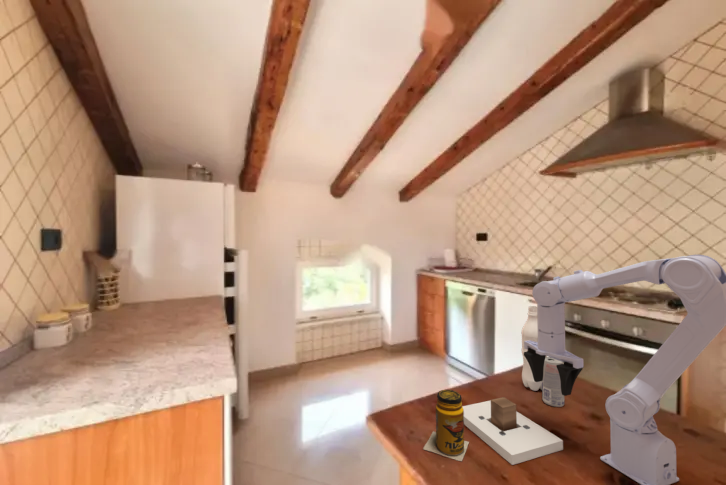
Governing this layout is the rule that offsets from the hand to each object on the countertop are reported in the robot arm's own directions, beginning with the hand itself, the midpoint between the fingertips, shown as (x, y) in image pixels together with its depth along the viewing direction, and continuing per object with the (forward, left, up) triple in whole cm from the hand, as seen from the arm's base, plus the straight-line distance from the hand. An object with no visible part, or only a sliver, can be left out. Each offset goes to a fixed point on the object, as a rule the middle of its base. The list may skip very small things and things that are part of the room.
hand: (551, 387), depth 78 cm
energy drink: (+10, -12, -11) cm, 19 cm away
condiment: (+4, +27, -11) cm, 29 cm away
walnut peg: (+4, +11, -10) cm, 16 cm away
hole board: (+4, +11, -10) cm, 16 cm away
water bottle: (+19, -15, -11) cm, 26 cm away
